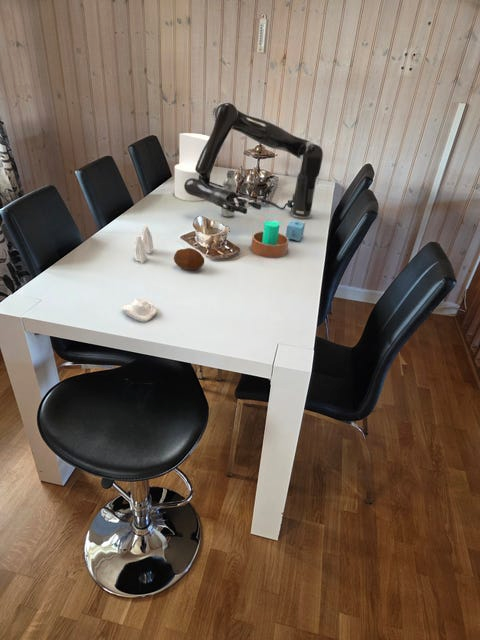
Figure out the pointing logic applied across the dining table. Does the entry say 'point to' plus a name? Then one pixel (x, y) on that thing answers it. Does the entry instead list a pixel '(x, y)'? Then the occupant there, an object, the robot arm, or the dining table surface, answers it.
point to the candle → (270, 232)
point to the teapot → (295, 230)
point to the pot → (269, 246)
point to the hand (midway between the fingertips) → (253, 209)
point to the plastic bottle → (231, 185)
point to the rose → (140, 310)
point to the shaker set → (143, 245)
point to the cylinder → (188, 162)
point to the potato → (189, 259)
